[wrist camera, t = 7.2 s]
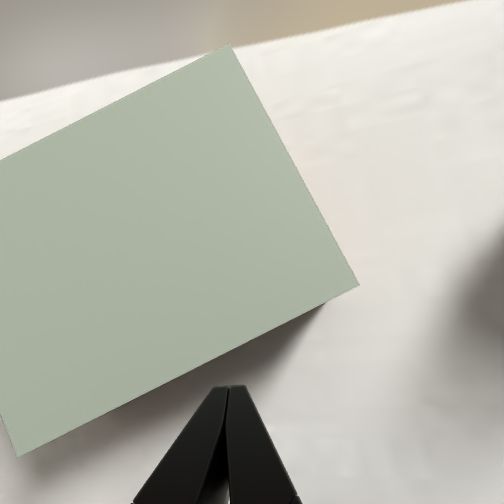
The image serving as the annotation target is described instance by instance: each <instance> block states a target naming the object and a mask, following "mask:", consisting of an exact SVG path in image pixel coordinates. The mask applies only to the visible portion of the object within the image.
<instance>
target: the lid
mask: <svg viewBox="0 0 504 504" xmlns="http://www.w3.org/2000/svg"><path fill="white" fill-rule="evenodd" d="M357 286H359V283H358V281H357V279H356V277H355V275H354V274H353V272H352V270H351V268H350V266H349V264H348V262H347V261H346V259H345V257H344V255H343V253H342V251H341V250H340V248H339V246H338V244H337V242H336V240H335V238H334V237H333V235H332V233H331V231H330V229H329V227H328V225H327V224H326V222H325V220H324V218H323V216H322V214H321V213H320V211H319V209H318V207H317V205H316V203H315V201H314V200H313V198H312V196H311V194H310V192H309V190H308V188H307V187H306V185H305V183H304V181H303V179H302V177H301V176H300V174H299V172H298V170H297V168H296V166H295V164H294V163H293V161H292V159H291V157H290V155H289V153H288V152H287V150H286V148H285V146H284V144H283V142H282V140H281V139H280V137H279V135H278V133H277V131H276V129H275V127H274V126H273V124H272V122H271V120H270V118H269V116H268V115H267V113H266V111H265V109H264V107H263V105H262V103H261V102H260V100H259V98H258V96H257V94H256V92H255V90H254V89H253V87H252V85H251V83H250V81H249V79H248V78H247V76H246V74H245V72H244V70H243V68H242V66H241V65H240V63H239V61H238V59H237V57H236V55H235V53H234V52H233V50H232V48H231V46H230V44H227V45H225V46H223V47H221V48H220V49H218V50H216V51H214V52H212V53H210V54H208V55H206V56H204V57H202V58H200V59H198V60H196V61H194V62H192V63H190V64H188V65H186V66H184V67H182V68H180V69H178V70H176V71H174V72H172V73H170V74H169V75H167V76H165V77H163V78H161V79H159V80H157V81H155V82H153V83H151V84H149V85H147V86H145V87H143V88H141V89H139V90H137V91H135V92H133V93H131V94H129V95H127V96H125V97H123V98H121V99H119V100H118V101H116V102H114V103H112V104H110V105H108V106H106V107H104V108H102V109H100V110H98V111H96V112H94V113H92V114H90V115H88V116H86V117H84V118H82V119H80V120H78V121H76V122H74V123H72V124H70V125H69V126H67V127H65V128H63V129H61V130H59V131H57V132H55V133H53V134H51V135H49V136H47V137H45V138H43V139H41V140H39V141H37V142H35V143H33V144H31V145H29V146H27V147H25V148H23V149H21V150H19V151H18V152H16V153H14V154H12V155H10V156H8V157H6V158H4V159H2V160H0V414H1V417H2V420H3V422H4V425H5V427H6V430H7V433H8V435H9V438H10V441H11V443H12V446H13V448H14V451H15V454H16V456H17V458H18V457H20V456H22V455H24V454H26V453H28V452H30V451H32V450H34V449H36V448H38V447H40V446H42V445H44V444H46V443H48V442H50V441H52V440H54V439H56V438H58V437H60V436H62V435H64V434H66V433H68V432H70V431H72V430H74V429H76V428H77V427H79V426H81V425H83V424H85V423H87V422H89V421H91V420H93V419H95V418H97V417H99V416H101V415H103V414H105V413H107V412H109V411H111V410H113V409H115V408H117V407H119V406H121V405H123V404H125V403H127V402H129V401H131V400H133V399H135V398H137V397H139V396H141V395H143V394H145V393H147V392H149V391H151V390H153V389H155V388H157V387H159V386H161V385H163V384H165V383H167V382H169V381H171V380H173V379H175V378H177V377H179V376H181V375H183V374H185V373H186V372H188V371H190V370H192V369H194V368H196V367H198V366H200V365H202V364H204V363H206V362H208V361H210V360H212V359H214V358H216V357H218V356H220V355H222V354H224V353H226V352H228V351H230V350H232V349H234V348H236V347H238V346H240V345H242V344H244V343H246V342H248V341H250V340H252V339H254V338H256V337H258V336H260V335H262V334H264V333H266V332H268V331H270V330H272V329H274V328H276V327H278V326H280V325H282V324H284V323H286V322H288V321H290V320H292V319H294V318H296V317H297V316H299V315H301V314H303V313H305V312H307V311H309V310H311V309H313V308H315V307H317V306H319V305H321V304H323V303H325V302H327V301H329V300H331V299H333V298H335V297H337V296H339V295H341V294H343V293H345V292H347V291H349V290H351V289H353V288H355V287H357Z"/></svg>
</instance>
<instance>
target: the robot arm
mask: <svg viewBox="0 0 504 504" xmlns="http://www.w3.org/2000/svg"><path fill="white" fill-rule="evenodd" d="M229 496H230V504H302V502H301V500H300V498H299V496H297V492H296V490H295V488H294V486H293V484H292V481H291V479H290V477H289V475H288V473H287V471H286V469H285V467H284V465H283V463H282V461H281V459H280V456H279V454H278V452H277V450H276V448H275V446H274V444H273V442H272V440H271V438H270V436H269V433H268V431H267V429H266V427H265V425H264V423H263V421H262V419H261V417H260V415H259V413H258V411H257V408H256V406H255V404H254V402H253V400H252V398H251V396H250V394H249V392H248V390H247V388H246V386H245V385H232V386H230V388H229V387H228V386H215V387H213V388H212V389H211V391H210V392H209V394H208V395H207V396H206V398H205V399H204V401H203V402H202V403H201V405H200V406H199V408H198V409H197V411H196V412H195V413H194V415H193V416H192V418H191V419H190V420H189V422H188V423H187V425H186V426H185V427H184V429H183V430H182V432H181V433H180V435H179V436H178V437H177V439H176V440H175V442H174V443H173V444H172V446H171V447H170V449H169V450H168V451H167V453H166V454H165V456H164V457H163V459H162V460H161V461H160V463H159V464H158V466H157V467H156V468H155V470H154V471H153V473H152V474H151V476H150V477H149V478H148V480H147V481H146V483H145V484H144V485H143V487H142V488H141V490H140V491H139V492H138V494H137V495H136V497H135V498H134V500H133V503H134V504H228V500H229ZM133 503H131V504H133Z"/></svg>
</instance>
